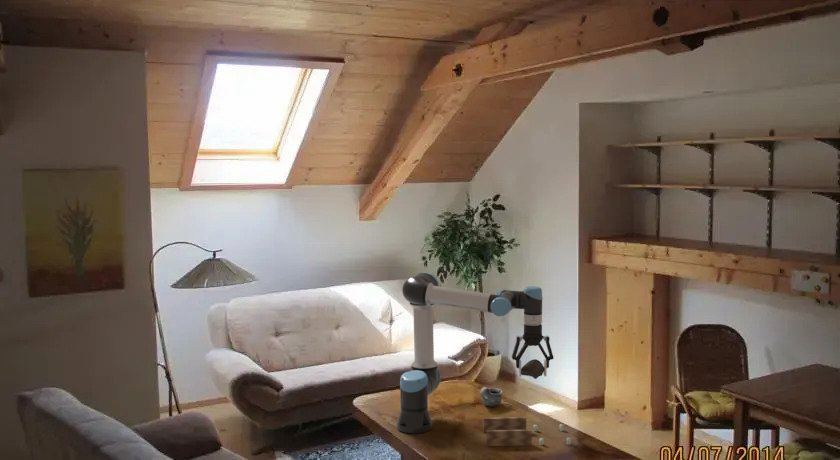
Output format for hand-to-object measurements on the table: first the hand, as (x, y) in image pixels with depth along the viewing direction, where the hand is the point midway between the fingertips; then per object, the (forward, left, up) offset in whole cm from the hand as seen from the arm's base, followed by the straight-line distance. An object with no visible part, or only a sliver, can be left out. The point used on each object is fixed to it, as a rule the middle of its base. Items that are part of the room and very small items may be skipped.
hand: (532, 375), depth 316 cm
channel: (-12, -10, -23) cm, 28 cm away
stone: (0, 0, -1) cm, 1 cm away
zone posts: (+7, -10, -23) cm, 26 cm away
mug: (-15, +29, -24) cm, 41 cm away
